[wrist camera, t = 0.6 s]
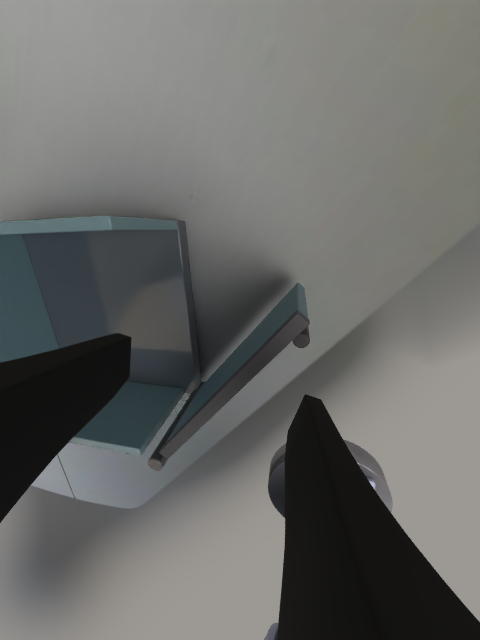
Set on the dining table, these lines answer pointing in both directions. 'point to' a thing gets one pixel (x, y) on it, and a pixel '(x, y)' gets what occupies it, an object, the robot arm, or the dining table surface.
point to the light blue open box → (106, 312)
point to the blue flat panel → (244, 365)
